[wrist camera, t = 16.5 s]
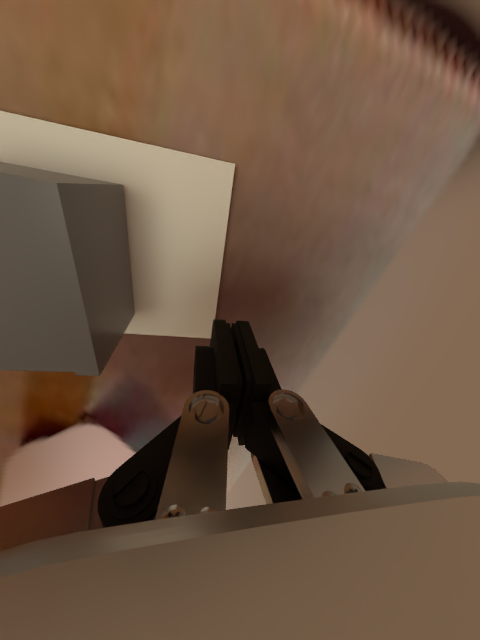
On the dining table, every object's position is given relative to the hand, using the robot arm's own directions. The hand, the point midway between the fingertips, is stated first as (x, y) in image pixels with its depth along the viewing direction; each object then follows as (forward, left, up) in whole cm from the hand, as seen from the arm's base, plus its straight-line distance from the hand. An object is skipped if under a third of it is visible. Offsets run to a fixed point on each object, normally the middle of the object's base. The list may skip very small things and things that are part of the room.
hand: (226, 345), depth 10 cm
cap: (+2, +9, -6) cm, 11 cm away
